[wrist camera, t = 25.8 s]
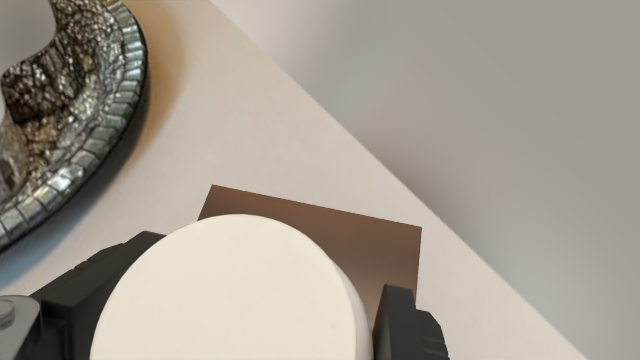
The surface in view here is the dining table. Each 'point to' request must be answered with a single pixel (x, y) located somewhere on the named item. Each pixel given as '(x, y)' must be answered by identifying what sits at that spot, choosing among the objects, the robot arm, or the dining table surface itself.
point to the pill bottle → (234, 298)
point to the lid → (337, 239)
